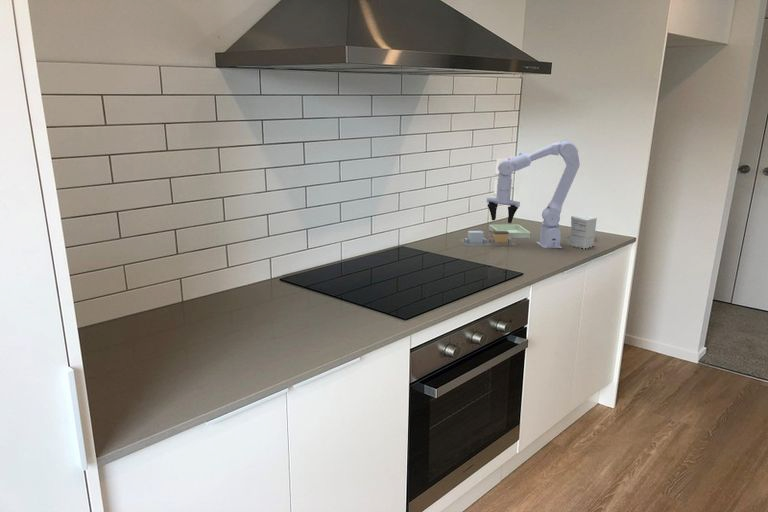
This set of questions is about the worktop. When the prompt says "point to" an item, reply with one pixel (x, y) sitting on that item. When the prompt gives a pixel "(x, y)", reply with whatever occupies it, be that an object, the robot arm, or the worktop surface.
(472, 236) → the fuse
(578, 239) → the supplement box
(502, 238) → the block
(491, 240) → the fuse board
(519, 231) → the parts tray
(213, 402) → the worktop surface
